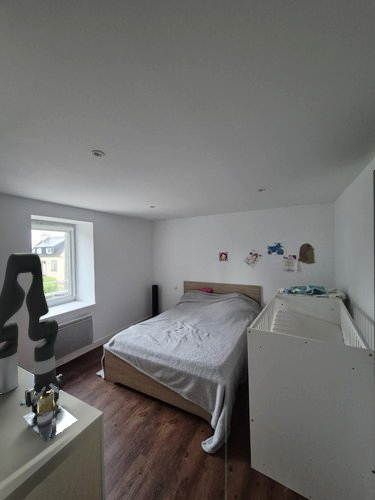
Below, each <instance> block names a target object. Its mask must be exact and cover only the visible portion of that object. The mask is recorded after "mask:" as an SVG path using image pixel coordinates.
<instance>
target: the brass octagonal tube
mask: <svg viewBox="0 0 375 500" xmlns="http://www.w3.org/2000/svg"><path fill="white" fill-rule="evenodd" d="M57 402H58V401H57ZM57 402H56V401H54V391H52V390H50V391H48V392H46V393H45V394H43V395H42V396H41V398H40V399H39V400H38V402H37V404H38V413H37V415H39V414H40V413H41V412H43V411H45V410H48V409H51V410H54V408H55V407H56V405H57V404H58V403H57Z"/></svg>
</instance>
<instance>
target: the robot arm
mask: <svg viewBox="0 0 375 500" xmlns="http://www.w3.org/2000/svg"><path fill="white" fill-rule="evenodd" d="M27 273H28V274H29V273H31V278H32V280H31V284H30V287H29V289H28V290H27V294H26V292H25V290H24V288H23V287H22V285H21V284H20V283H19V281H18V278H19V276H20V274H27ZM4 274H5V275H4V280H3V285H2V288H1V291H0V344H2V345H1V346H0V393H4V394H7V393H9V392H12V391H13V390H15V389H16V388H17V387H18V385H19V361H18V360H19V357H18V349H19V326H18V325H19V324H18V323H17V322H16V321H15V320H11V321H9V320H10V319H11V318H12V317H13V316H15V315H16V314H17V313H18V311H20V310H21V308H22V306H23V304H24V301H25V305H26V309H27V312H28V329H27V336H28V339H29V340H31V341H32V342H39V341H41V342H39V343H38V344H37V345H35V347H34V350H33V353H34V354H33V358H34V361H33V362H34V363H33V382H34V385H33V387H32V388H30V389H29V390H28V389H26V390H25V391H24V398H25V403H26V404H25V405H26V407H28V408H30V407H31V412H33V413H35V414H37V413H38V400H39V399H40V398H41V396H42V395H43V394H45V393H46V392H48V391H52V390H53V400H54V401H56V402H59V398H60V391H61V390H63V389H64V385H65V384H64V380H65V379H64V377H65V376H64V375H63V374H62V373H59V374H58V375H57V376H56V374H57V373H56V364H57V363H56V357H55V344H56V340H57V336H58V332H59V324H58V322H57V320H55V319H54V318H53V319H52V318H51V319H46V320H44V321H41V322H40V319H41V318H42V317H43V316H47V314H49V311H50V310H49V306H48V302H47V299H46V295H45V290H44V278H43V277H44V276H43V275H44V274H43V267H42V261H41V257H40V255H39V254H38V253H36V252H14V253H11V254H10V255H9V256H8V259H7V262H6V267H5V273H4ZM4 342H5V343H4ZM56 382H57V386H55V384H56ZM33 391H35V393H34V397H33V399H32V400H31V395H32V394H33Z"/></svg>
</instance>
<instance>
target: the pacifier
mask: <svg viewBox="0 0 375 500" xmlns="http://www.w3.org/2000/svg"><path fill="white" fill-rule="evenodd" d="M34 394H35V391H33V394H32V395H31V401H32V399H33V397H34ZM20 403H21V404H22V405H26V402H25V397H24V398H22V399H21V400H20Z"/></svg>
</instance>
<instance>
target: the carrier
mask: <svg viewBox="0 0 375 500" xmlns="http://www.w3.org/2000/svg"><path fill="white" fill-rule="evenodd" d="M22 419H24V420H25V421H26V423H27V424H28V425H29V426H30V427H31V428H32V429H33V431H34V432H36V434H38V436H39V437H40V438H41V439H42V440H43V441H44V443H47V442H49V441H50V440H51V439H53V438H54V437H55V436H57V435H59V434H60V433H61V432H63V431H64V430H65V429H66V428H68V427H70V426H71V425H72V424H74V423H75V422H76V421H78V419H77V418H75V417H74V415H72V414H71V413H69V411H67V410H66V409H65V408H64V407H62V406H61V405H60V404H59V403H57V405H56V407H55V408H54V410H51V409H48V410H45V411H43V412H41V413H40V414H39V415H37V414H35V413H33V412H32V411H31V412H29V413H27V414H26V415H25V414H24V415H23V417H22Z"/></svg>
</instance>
